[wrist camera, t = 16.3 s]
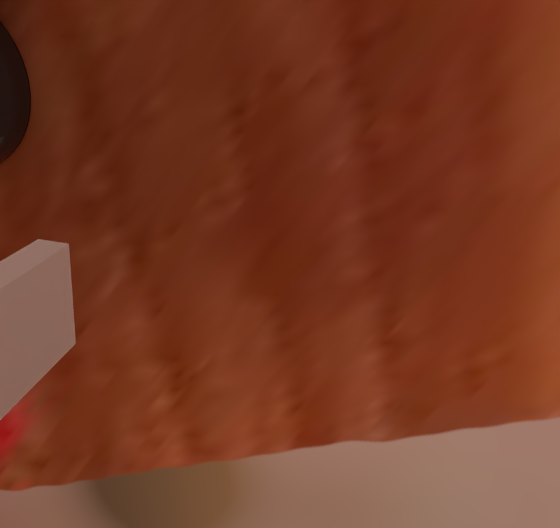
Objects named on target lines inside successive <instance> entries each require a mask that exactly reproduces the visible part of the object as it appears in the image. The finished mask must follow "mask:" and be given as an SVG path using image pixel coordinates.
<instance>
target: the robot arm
mask: <svg viewBox="0 0 560 528" xmlns="http://www.w3.org/2000/svg"><path fill="white" fill-rule="evenodd" d="M29 111H30V92H29V84H28V79H27V75H26V71H25V68H24V64H23V62H22V59H21V56H20V54H19V52H18V50H17V48H16V46H15V44H14V42H13V40H12V39H11V37H10V36H9V34H8V33H7V31H6V30H5V28H4V27H3V26H2V24H1V23H0V162H2V161H3V160H4V159H6V158H7V157H8V156H9V155H10V154H11V153H12V152H13V151H14V150H15V148H16V147H17V146H18V144H19V143H20V141H21V139H22V137H23V135H24V132H25V130H26V127H27V123H28V118H29ZM75 344H76V341H75V326H74V312H73V297H72V283H71V268H70V254H69V244H67V243H61V242H54V241H48V240H41V239H38V240H36V241H34V242H33V243H31V244H29V245H27V246H26V247H24V248H22V249H21V250H19V251H17V252H16V253H14V254H12V255H10V256H9V257H7V258H5V259H4V260H2V261H0V420H1V419H2V418H3V417H4V416H5V415H6V414H7V413H8V412H9V411H10V410H11V409H12V408H13V407H14V406H15V405H16V404H17V403H18V402H19V401H20V400H21V399H22V398H23V397H24V396H25V394H26V393H27V392H28V391H29V390H30V389H31V388H32V387H33V386H34V385H35V384H36V383H37V382H38V381H39V380H40V379H41V378H42V377H43V376H44V375H45V374H46V373H47V372H48V371H49V370H50V369H51V368H52V367H53V366H54V365H55V364H56V363H57V362H58V361H59V360H60V359H61V358H62V357H63V356H64V355H65V354H66V353H67V352H68V351H69V350H70V349H71V348H72V347H73V346H74V345H75Z"/></svg>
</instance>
